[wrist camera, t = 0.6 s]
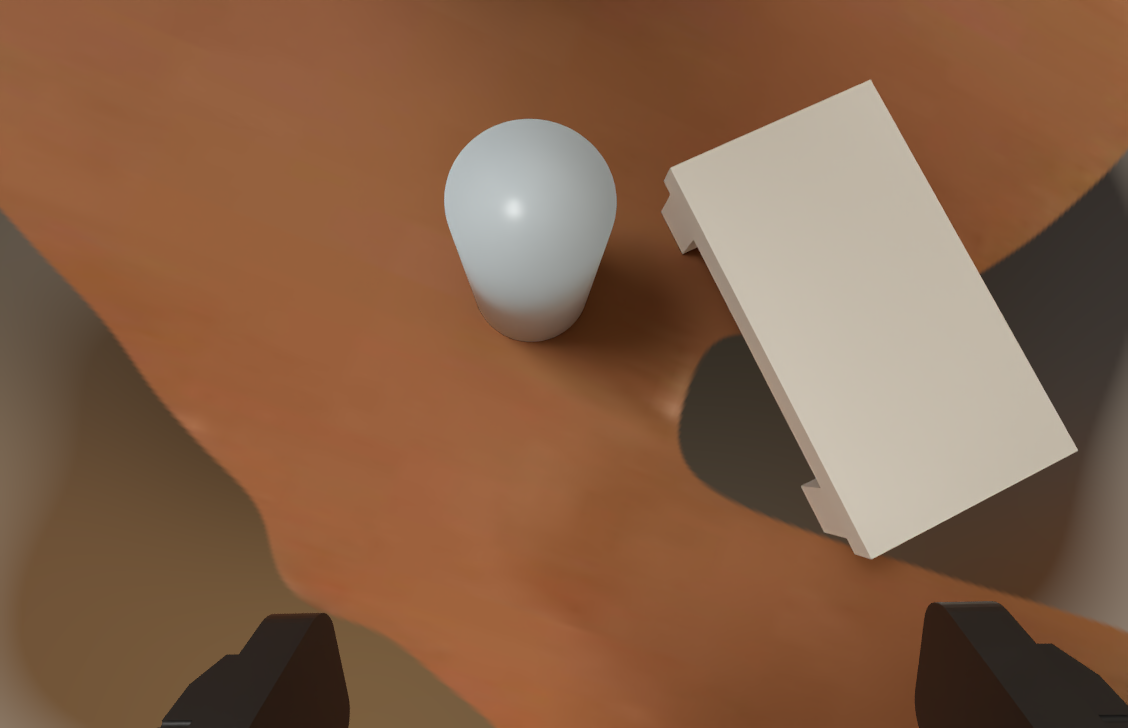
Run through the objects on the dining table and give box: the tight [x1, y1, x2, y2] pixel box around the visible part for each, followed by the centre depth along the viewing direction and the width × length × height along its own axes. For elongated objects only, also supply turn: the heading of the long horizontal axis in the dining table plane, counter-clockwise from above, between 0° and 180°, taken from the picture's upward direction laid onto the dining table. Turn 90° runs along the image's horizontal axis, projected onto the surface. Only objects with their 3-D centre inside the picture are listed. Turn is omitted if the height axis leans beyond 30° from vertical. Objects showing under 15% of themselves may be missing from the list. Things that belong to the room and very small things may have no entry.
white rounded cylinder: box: [444, 119, 617, 342], centre depth 27 cm, size 6×6×11 cm
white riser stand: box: [661, 80, 1078, 559], centre depth 30 cm, size 18×10×5 cm, turn 25°
